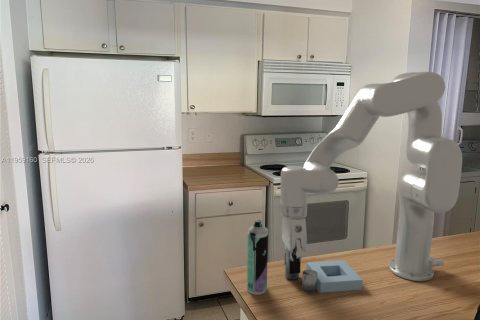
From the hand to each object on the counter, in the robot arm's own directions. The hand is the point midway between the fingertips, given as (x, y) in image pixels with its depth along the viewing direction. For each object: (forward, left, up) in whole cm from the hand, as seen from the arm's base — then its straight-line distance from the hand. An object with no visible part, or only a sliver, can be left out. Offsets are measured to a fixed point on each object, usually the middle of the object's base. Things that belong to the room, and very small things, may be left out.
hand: (292, 268), depth 108 cm
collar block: (-11, +3, -3) cm, 12 cm away
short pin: (-3, +7, -3) cm, 8 cm away
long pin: (0, 0, -2) cm, 2 cm away
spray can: (+12, +5, -3) cm, 13 cm away
